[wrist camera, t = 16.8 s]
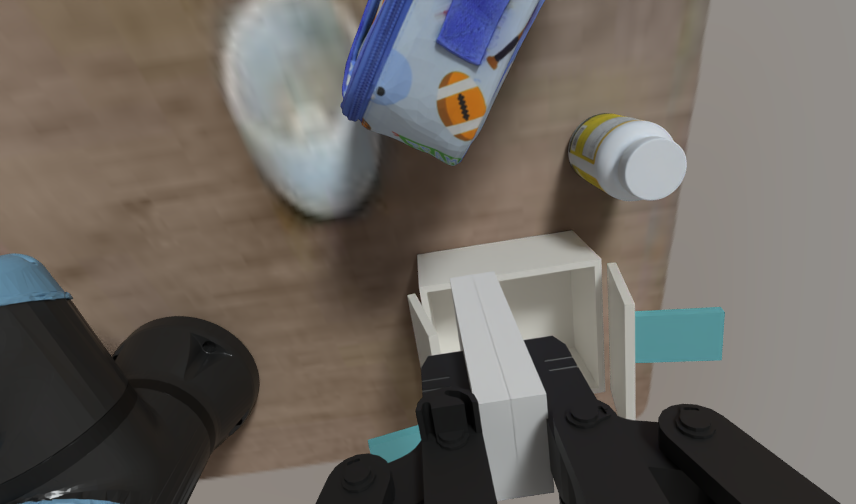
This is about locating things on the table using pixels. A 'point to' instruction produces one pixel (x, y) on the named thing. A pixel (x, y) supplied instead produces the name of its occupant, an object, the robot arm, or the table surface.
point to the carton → (528, 292)
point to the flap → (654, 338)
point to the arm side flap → (427, 345)
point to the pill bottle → (627, 157)
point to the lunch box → (433, 68)
